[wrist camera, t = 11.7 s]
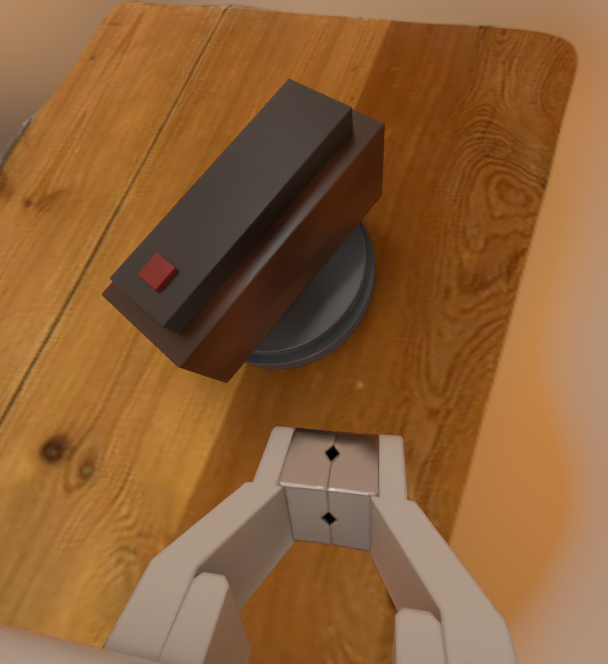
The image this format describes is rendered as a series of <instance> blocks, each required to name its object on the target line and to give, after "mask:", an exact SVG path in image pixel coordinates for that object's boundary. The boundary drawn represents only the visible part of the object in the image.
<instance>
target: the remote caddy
mask: <svg viewBox="0 0 608 664" xmlns="http://www.w3.org/2000/svg"><path fill="white" fill-rule="evenodd" d="M384 130H385V125H384V123H382V122H380V121H377V120H375V119H373V118H371V117H369V116H367V115H364V114H362V113H360V112H358V111H356V110H354V109H352V108H351V107H350V106H347V105H345V104H343V103H341V102H339V101H337V100H334V99H332V98H330V97H328V96H326V95H324V94H321V93H319V92H317V91H315V90H313V89H311V88H308V87H306V86H304V85H302V84H300V83H298V82H295V81H293V80H291V79H288V81H287V82H286V83H285V84H284V85H283V86H282V87H281V88H280V89H279V91H278V92H277V93H276V94H275V95H274V96H273V97H272V98H271V99H270V101H269V102H268V103H267V104H266V105H265V106H264V107H263V108H262V109H261V111H260V112H259V113H258V114H257V115H256V116H255V117H254V118H253V119H252V121H251V122H250V123H249V124H248V125H247V126H246V127H245V128H244V129H243V131H242V132H241V133H240V134H239V135H238V136H237V137H236V138H235V139H234V141H233V142H232V143H231V144H230V145H229V146H228V147H227V148H226V149H225V151H224V152H223V153H222V154H221V155H220V156H219V157H218V158H217V159H216V161H215V162H214V163H213V164H212V165H211V166H210V167H209V168H208V169H207V171H206V172H205V173H204V174H203V175H202V176H201V177H200V178H199V179H198V181H197V182H196V183H195V184H194V185H193V186H192V187H191V188H190V189H189V191H188V192H187V193H186V194H185V195H184V196H183V197H182V198H181V199H180V201H179V202H178V203H177V204H176V205H175V206H174V207H173V208H172V209H171V211H170V212H169V213H168V214H167V215H166V216H165V217H164V218H163V219H162V221H161V222H160V223H159V224H158V225H157V226H156V227H155V228H154V229H153V231H152V232H151V233H150V234H149V235H148V236H147V237H146V238H145V239H144V241H143V242H142V243H141V244H140V245H139V246H138V247H137V248H136V250H135V251H134V252H133V253H132V254H131V255H130V256H129V257H128V258H127V260H126V261H125V262H124V263H123V264H122V265H121V266H120V267H119V268H118V270H117V271H116V272H115V273H114V274H113V275H112V276H111V277H110V279H111V280H112V281H113V282H112V283H111V284H110V285H109V286H108V287H107V289H106V290H105V291H104V292H103V293H102V296H103V297H104V298H105V299H106V300H107V301H109V302H110V303H111V304H112V305H113V306H114V307H115V308H116V309H117V310H118V311H119V312H120V313H121V314H122V315H123V316H124V317H125V318H127V319H128V320H129V321H130V322H131V323H132V324H133V325H134V326H135V327H136V328H137V329H138V330H139V331H140V332H141V333H142V334H144V335H145V336H146V337H147V338H148V339H149V340H150V341H151V342H152V343H153V344H154V345H155V346H156V347H157V348H158V349H159V350H160V351H162V352H163V353H164V354H165V355H166V356H167V357H168V358H169V359H170V360H171V361H172V362H173V363H174V364H175V365H176V366H177V367H179V368H182V369H185V370H188V371H191V372H194V373H197V374H200V375H203V376H206V377H209V378H212V379H215V380H219V381H222V382H225V383H228V381H229V380H230V379H231V378H232V377H233V375H234V374H235V373H236V372H237V371H238V369H239V368H240V367H241V366H242V364H243V363H244V362H245V361H246V360H247V358H248V357H249V356H250V355H251V354H256V355H267V356H273V355H284V354H289V353H294V352H297V351H300V350H303V349H306V348H308V347H310V346H312V345H314V344H316V343H318V342H320V341H321V340H323V339H324V338H326V337H327V336H329V335H330V334H331V333H332V332H334V331H335V330H336V329H337V328H338V327H339V326H340V325H341V324H342V323H343V322H344V321H345V320H346V318H347V317H348V316H349V314H350V313H351V311H352V310H353V308H354V307H355V305H356V303H357V301H358V299H359V297H360V294H361V291H362V289H363V286H364V281H365V276H366V248H365V242H364V238H363V234H362V232H361V229H360V227H359V222H360V221H361V220H362V219H363V217H364V216H365V215H366V214H367V213H368V211H369V210H370V209H371V208H372V207H373V205H374V204H375V203H376V202H377V200H378V199H379V198H380V197H381V196H382V180H383V155H384Z"/></svg>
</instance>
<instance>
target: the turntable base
mask: <svg viewBox="0 0 608 664" xmlns="http://www.w3.org/2000/svg"><path fill="white" fill-rule="evenodd" d="M359 227H360V229H361V232H362V234H363V238H364V242H365V248H366V276H365V281H364V286H363V289H362V291H361V294H360V297H359V299H358V301H357V303H356V305H355V307H354V308H353V310H352V311H351V313H350V314H349V316H348V317H347V318H346V320H345V321H344V322H343V323H342V324H341V325H340V326H339V327H338V328H337V329H336V330H335V331H334V332H332V333H331V334H330V335H329V336H327V337H326V338H324V339H323V340H321V341H320V342H318V343H316V344H314V345H312V346H310V347H308V348H306V349H303V350H300V351H297V352H294V353H289V354H284V355H273V356H267V355H256V354H251V355H250V356H249V357H248V358H247V360H246V361H245V362H244V363H247V364H249V365H253V366H257V367H260V368H268V369H287V368H294V367H299V366H303V365H306V364H309V363H312V362H314V361H317V360H319V359H321V358H323V357H325V356H327V355H328V354H330V353H331V352H333V351H335V350H336V349H337V348H338V347H340V346H341V345H342V344H343V343H344V342H345V341H346V340H347V339H348V338H349V337H350V336H351V335H352V334H353V333H354V332H355V330H356V329H357V328H358V326H359V325H360V324H361V322H362V320H363V318H364V316H365V315H366V313H367V310H368V308H369V305H370V303H371V300H372V295H373V291H374V283H375V256H374V251H373V246H372V243H371V240H370V237H369V235H368V233H367V231H366V229H365V227H364V225H363V224H362V222H361V221H360V222H359Z"/></svg>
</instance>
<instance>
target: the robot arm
mask: <svg viewBox="0 0 608 664" xmlns="http://www.w3.org/2000/svg"><path fill="white" fill-rule="evenodd" d="M293 540H295V541H303V542H312V543H320V544H329V545H335V546H341V547H346V548H352V549H358V550H363V551H369V552H370V555H371V557H372V559H373V561H374V563H375V565H376V567H377V569H378V571H379V573H380V576H381V578H382V580H383V582H384V584H385V586H386V588H387V590H388V592H389V595H390V597H391V599H392V601H393V603H394V605H395V607H396V609H397V611H398V613H397V614H396V615H395V625H394V636H393V647H392V659H391V664H518V662H517V658H516V654H515V651H514V647H513V643H512V639H511V635H510V631H509V628H508V624H507V622H506V621H505V620H504V619H503V617H502V616H501V614H500V613H499V612H498V610H497V609H496V608H495V607H494V605H493V604H492V603H491V601H490V600H489V599H488V597H487V596H486V595H485V593H484V592H483V591H482V589H481V588H480V587H479V585H478V584H477V583H476V581H475V580H474V579H473V577H472V576H471V575H470V573H469V572H468V571H467V569H466V568H465V567H464V565H463V564H462V563H461V561H460V560H459V559H458V558H457V556H456V555H455V554H454V552H453V551H452V549H451V548H450V547H449V546H448V544H447V543H446V542H445V540H444V539H443V538H442V536H441V535H440V534H439V532H438V531H437V530H436V528H435V527H434V526H433V524H432V523H431V522H430V520H429V519H428V518H427V516H426V515H425V514H424V512H423V511H422V510H421V508H420V507H419V506H418V504H417V503H416V502H415V501H410V500H408V499H407V486H406V472H405V459H404V446H403V438H402V436H396V435H381V434H366V433H351V432H333V431H323V430H314V429H304V428H290V427H281V426H276V427H275V428H274V429H273V430H272V432H271V435H270V437H269V440H268V443H267V445H266V448H265V451H264V453H263V456H262V459H261V461H260V464H259V467H258V469H257V472H256V475H255V477H254V480H253V482H246V483H244V484H243V485H242V486H241V487H239V488H238V489H237V490H236V491H235V492H233V493H232V494H231V495H230V496H229V497H227V498H226V499H225V500H224V501H222V502H221V503H220V504H219V505H218V506H216V507H215V508H214V509H213V510H211V511H210V512H209V513H208V514H207V515H205V516H204V517H203V518H202V519H200V520H199V521H198V522H197V523H196V524H194V525H193V526H192V527H191V528H189V529H188V530H187V531H186V532H185V533H183V534H182V535H181V536H180V537H178V538H177V539H176V540H175V541H174V542H172V543H171V544H170V545H169V546H167V547H166V548H165V549H164V550H163V551H161V552H160V553H159V554H158V555H156V556H155V557H154V558H153V559H152V560H151V561H150V563H149V565H148V566H147V568H146V570H145V572H144V574H143V575H142V577H141V579H140V581H139V583H138V585H137V586H136V588H135V590H134V592H133V594H132V595H131V597H130V599H129V601H128V603H127V605H126V606H125V608H124V610H123V612H122V614H121V615H120V617H119V619H118V621H117V623H116V625H115V626H114V628H113V630H112V632H111V634H110V635H109V637H108V639H107V641H106V643H105V645H104V646H103V648H98V647H94V646H90V645H86V644H82V643H78V642H74V641H70V640H65V639H61V638H57V637H53V636H49V635H45V634H41V633H37V632H33V631H29V630H24V629H20V628H16V627H12V626H8V625H4V624H0V664H248V661H249V657H250V653H251V646H250V643H249V640H248V637H247V634H246V632H245V629H244V626H243V623H242V620H241V617H240V614H239V611H240V610H241V608H242V607H243V606H244V605H245V603H246V602H247V601H248V600H249V598H250V597H251V596H252V594H253V593H254V592H255V591H256V589H257V588H258V587H259V586H260V584H261V583H262V582H263V581H264V579H265V578H266V577H267V576H268V574H269V573H270V572H271V571H272V569H273V568H274V567H275V566H276V564H277V563H278V562H279V561H280V559H281V558H282V557H283V555H284V554H285V553H286V552H287V550H288V549H289V548H290V547H291V545H292V544H293Z"/></svg>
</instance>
